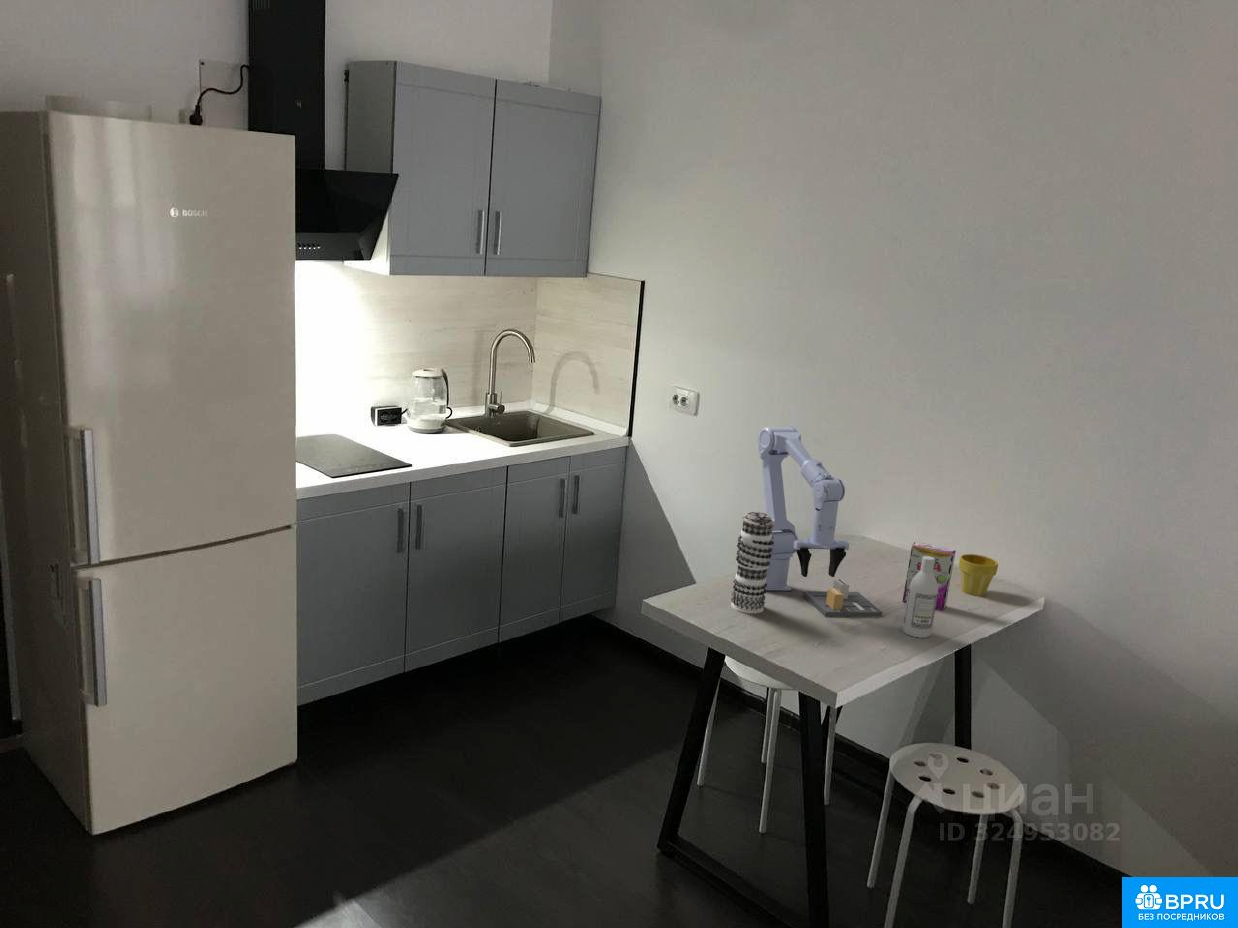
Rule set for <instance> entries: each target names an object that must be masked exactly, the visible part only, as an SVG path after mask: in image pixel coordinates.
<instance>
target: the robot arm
mask: <svg viewBox="0 0 1238 928" xmlns="http://www.w3.org/2000/svg"><path fill="white" fill-rule="evenodd" d="M801 435H802V434H801V433H800V432H799V431H798V429H797V428H796V427H794V426H789V427H768V426H766V427H763V428H762V429H761V430H760V432H759V434H758V436H757V445H758V454H759V458H760V459H761V460H760V461H761V471H762V480H763V490H764V491H763V492H764V498H765V499H764V500H765V509H766V510H765V511H766V514H767V515H769V516H770V518H771V520H773V521H774V524H773V527H772V537H774V538H773V539H771V540H772V541H773V542H774V544H773V545H770V546H769V547H770V548H771V549H772V552H770V554H771V558H769V559H768V561H769V562H770V565H769V568H767V573H766V577H767V579H766V584H767V587H766V588H765V589H766V591H778V592H779V591H784V592H785V591H789V592H790V591H792V588H791V587H790V586H789V585H788V584H787V583H788V577H789V576H788V575H789V568H790V561H791V558H792V557H793V554H795V553H796V555H797V558H798V561H799V567H800V573H801V574H800V575H801V576H802V577H803V578H807V577H808V574H809V564H810V561H811V558H812V555H813V554H812V553H811V552H810V550H829V565H828V571H827V572H828V576H829V577H831V578H835V575H836V573H837V570H838V569H839V566H840V565H841V563H842V562H843V560H844V559H845V558H846V557H847V552H846V551H849V549H850V542H848V540H847V541H846V540H838V539H835V532H836V525H837V516H838V511H839V502H841V501H842V500H843V499H844V497H845V493H846V488H845V485H844V483H843V481H842V479H840V478H838V477H837V478H836V477H835V476H832V475H831V474H830V472H828V470H827V469H826V468H825V466H824V465H823V463H822V462H821V460H818V459H813V458H812V457H811V455H810V454H809V452H808V451H807V449H806V448H805V446H804V445H803V443H802V436H801ZM789 456H790V457H791V458H792V459H793V460H794V461H795V462H796V463H797V464H798V465H799V467H800V468H801V469H800V473H801V476H802V477H803V478H804V480H805V481H806V482H807V484H809V487H810V488H811V494H812V498H813V499H812V500H813V507H814V510H813V511H814V513H813V519H812V527H811V535H810V536H811V537H810V538H807V539H800V540H799V537H798V535H797V533H796V526H795V525H794V524H793V523H792V522H790V521H789V520H788V518H787V508H786V499H785V488H784V479H783V471H782V470H783V469H782V463H783V461H784V459H786V458H788V457H789Z"/></svg>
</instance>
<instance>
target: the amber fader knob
mask: <svg viewBox="0 0 1238 928" xmlns="http://www.w3.org/2000/svg"><path fill="white" fill-rule="evenodd" d="M827 591H828V592H827V599H826V604H828V605H829V606H830V607H831V608H832V609H842V604H843V597H844V595H843V594H842V593H841V592H840V591H839V590H838V589H834V588H833V587H832V588H827Z"/></svg>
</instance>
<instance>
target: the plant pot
mask: <svg viewBox="0 0 1238 928" xmlns="http://www.w3.org/2000/svg"><path fill="white" fill-rule="evenodd" d="M998 567H999V563H998V560H996V559H994V558H992V557H988V556H986V555H983V554H982V555H981V554H973V553H966V554H965V553H964V554H962V555H960V557H959V562H958V569H959V570H960V581H961V582H960V583H961V585H960V586H961V588H960V589H961V591H962V592H963V593H965V594H968V595H970V596H976V597H977V596H978V597H981V596H984V595H986V594H987V591H988V590H989V586H990V585H991V583H992V580H993V578H994V576H996V575H997V573H998V572H997V571H998V569H999V568H998Z"/></svg>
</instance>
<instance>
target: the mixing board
mask: <svg viewBox="0 0 1238 928" xmlns="http://www.w3.org/2000/svg"><path fill="white" fill-rule="evenodd" d="M827 592H828V590H827V591H825V590H824V591H821V590H820V591H819V590H816V591H815V590H814V591H813V590H812V591H809V590H807V591H805V590H803V592H802V596H803V597H804V598H805V599H806V600H807V601H808V602H809V603H811V605H812V606H813V607H815V608H816V609H817V610H818V611H819V612H820V614H822V615H823V616H824V617H864V618H865V617H871V618H872V617H873V618H874V617H876V618H877V617H879V618H880V617H881V618H882V617H883V611H882V610H881V609H879V607H877V606H876V605H875V604H873V603H872V602H871V601H870V600H869V599H868V598H866V597H865V596H864V595H863V594H861V593H860V592H859V591H849V592H848V598H847V599H843V604H842V609H832V608H831V607H830V606H829V605H828V604H826V599H827Z"/></svg>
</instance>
